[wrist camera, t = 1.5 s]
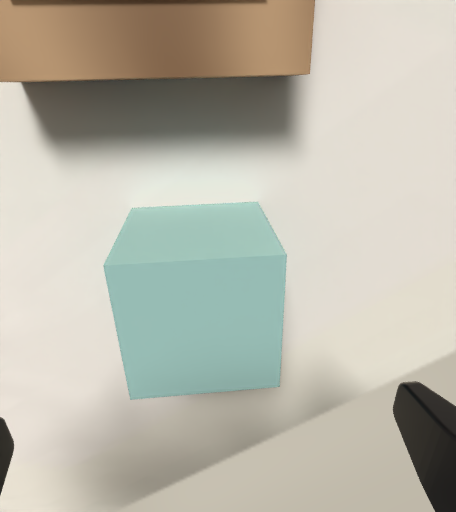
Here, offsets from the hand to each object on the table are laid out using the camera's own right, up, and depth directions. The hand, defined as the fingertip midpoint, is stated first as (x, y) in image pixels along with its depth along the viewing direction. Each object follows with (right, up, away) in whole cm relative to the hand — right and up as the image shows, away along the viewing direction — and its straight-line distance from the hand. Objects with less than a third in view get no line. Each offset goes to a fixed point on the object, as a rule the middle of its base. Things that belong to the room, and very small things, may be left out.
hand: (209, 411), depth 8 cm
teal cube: (-1, +3, +7) cm, 8 cm away
